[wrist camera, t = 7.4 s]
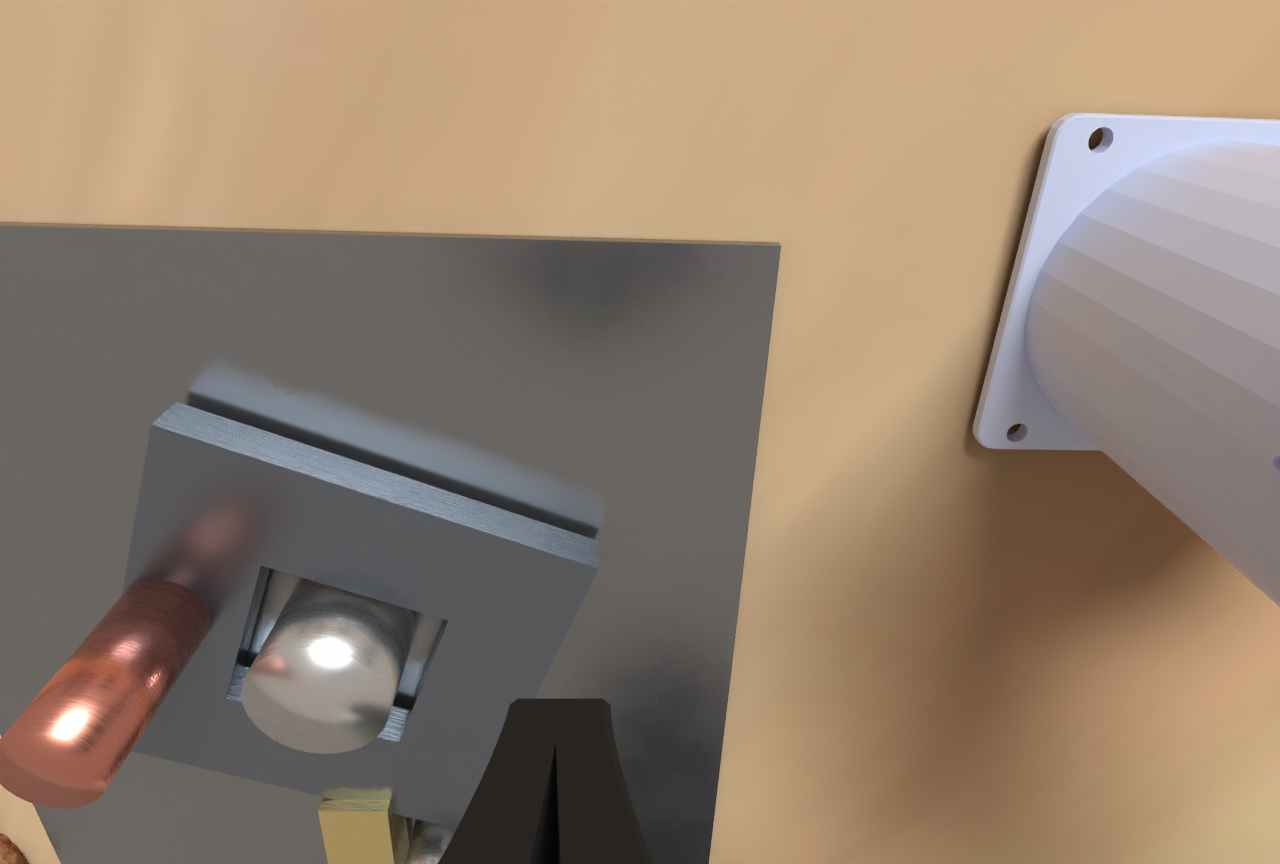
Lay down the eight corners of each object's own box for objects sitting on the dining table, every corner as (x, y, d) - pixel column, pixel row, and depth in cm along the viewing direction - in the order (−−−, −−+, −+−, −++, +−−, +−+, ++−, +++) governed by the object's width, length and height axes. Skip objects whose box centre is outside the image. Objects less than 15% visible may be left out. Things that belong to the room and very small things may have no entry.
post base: (778, 242, 18) (811, 285, 15) (707, 857, 28) (718, 954, 25) (-229, 216, 17) (-402, 256, 14) (70, 864, 27) (6, 965, 24)
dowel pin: (462, 806, 26) (446, 888, 24) (465, 837, 27) (451, 921, 24) (413, 806, 26) (392, 889, 24) (417, 838, 27) (398, 921, 24)
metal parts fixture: (176, 401, 19) (7, 552, 14) (599, 540, 21) (596, 716, 16) (102, 806, 25) (-34, 1018, 20) (433, 880, 27) (391, 1087, 22)
